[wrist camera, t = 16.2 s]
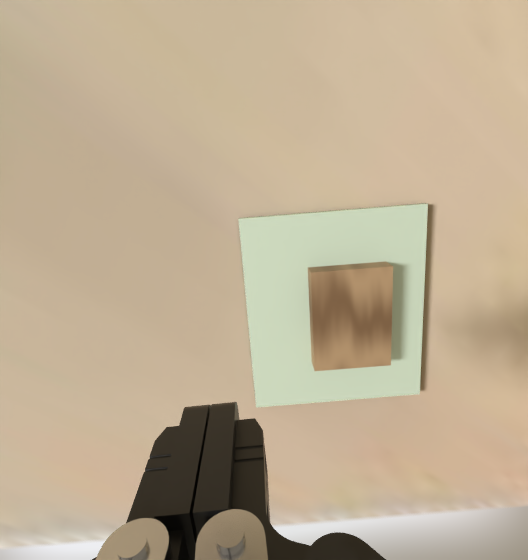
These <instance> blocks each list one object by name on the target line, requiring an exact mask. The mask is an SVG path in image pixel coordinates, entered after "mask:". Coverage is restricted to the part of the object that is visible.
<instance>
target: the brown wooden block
mask: <svg viewBox="0 0 528 560" xmlns="http://www.w3.org/2000/svg"><path fill="white" fill-rule="evenodd" d="M308 287H309V311H310V335H311V359H312V364H313V368H314V371H325V370H338V369H351V368H363V367H376V366H389V365H391V341H392V298H393V266H392V265H390V264H389V263H387V262H386V261H385V262H372V263H359V264H346V265H333V266H320V267H308Z"/></svg>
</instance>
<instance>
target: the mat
mask: <svg viewBox="0 0 528 560" xmlns="http://www.w3.org/2000/svg"><path fill="white" fill-rule="evenodd" d="M427 215H428V204H426V203H422V204H409V205H397V206H384V207H372V208H359V209H347V210H334V211H322V212H309V213H297V214H284V215H272V216H259V217H247V218H239V219H238V220H239V230H240V241H241V251H242V262H243V272H244V283H245V294H246V304H247V315H248V325H249V336H250V346H251V357H252V368H253V378H254V389H255V399H256V407H268V406H280V405H292V404H304V403H316V402H329V401H341V400H353V399H365V398H378V397H390V396H402V395H414V394H420V376H421V353H422V330H423V307H424V284H425V261H426V238H427ZM385 261H386V262H387V263H389V264H390V265H392V266H393V298H392V341H391V365H389V366H376V367H363V368H351V369H338V370H325V371H314V368H313V364H312V359H311V335H310V311H309V287H308V267H320V266H333V265H346V264H359V263H372V262H385Z"/></svg>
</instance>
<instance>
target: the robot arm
mask: <svg viewBox="0 0 528 560" xmlns="http://www.w3.org/2000/svg"><path fill="white" fill-rule="evenodd" d="M92 560H386V559H384V558H383V557H382V556H380V554H378V553H377V552H376V551H375V550H373V549H372V548H371V547H370V546H369V545H368V544H366V543H365V542H364V541H362V540H361V539H359V538H357V537H355V536H353V535H350V534H346V533H330V534H327V535H324V536H322V537H320V538H319V539H317V540H316V541H315V542H314V543H313V544H312V545H311V546H309V545H305V544H301V543H297V542H294V541H291V540H288V539H286V538H284V537H283V536H281V535H280V534H279V533H278V532H277V531H276V530H275V529H274V528H273V527H272V525H271V524H270V513H269V494H268V474H267V464H266V455H265V446H264V437H263V430H262V428H261V427H260V425H259V424H258V422H257V421H256V419H244V420H239V413H238V406H237V402H232V403H222V404H212V405H202V406H192V407H185V408H184V411H183V414H182V418H181V421H180V425H179V426H174V427H167V428H166V429H165V430H164V431H163V432H162V433H161V435H160V436H159V437H158V438H157V439H156V440H155V443H154V445H153V448H152V451H151V454H150V459H149V460H148V462H147V465H146V468H145V472H144V474H143V477H142V480H141V482H140V485H139V488H138V491H137V494H136V497H135V499H134V502H133V505H132V508H131V511H130V514H129V517H128V519H127V522H126V524H124V525H122V526H121V527H120V528H118V529H117V530H116V531H115V532H113V533H112V534H111V535H110V536H109V538H108V539H107V540H106V541H105V543H104V544H103V546H102V548H101V549H100V551H99V553H98V556H97V557H96V558H94V559H92Z"/></svg>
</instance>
